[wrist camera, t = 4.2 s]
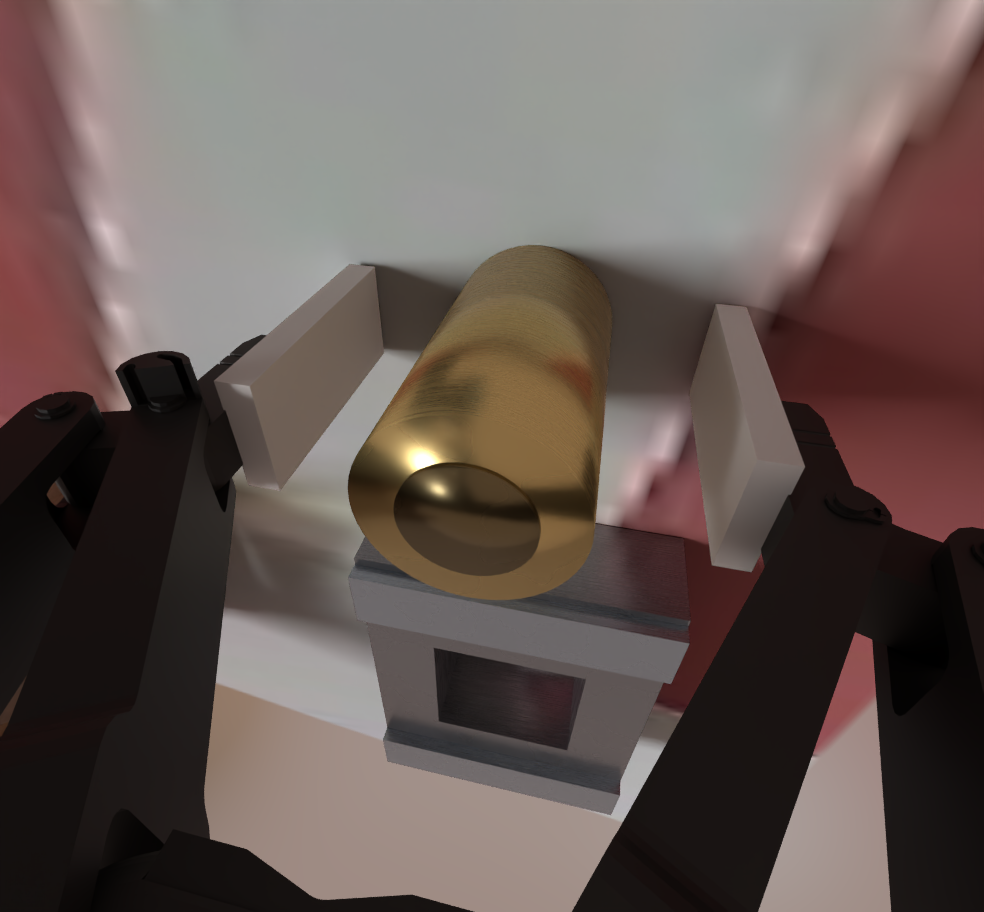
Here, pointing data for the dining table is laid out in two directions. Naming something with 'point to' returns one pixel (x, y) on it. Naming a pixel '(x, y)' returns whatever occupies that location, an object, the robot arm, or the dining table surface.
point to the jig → (529, 668)
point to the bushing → (495, 434)
